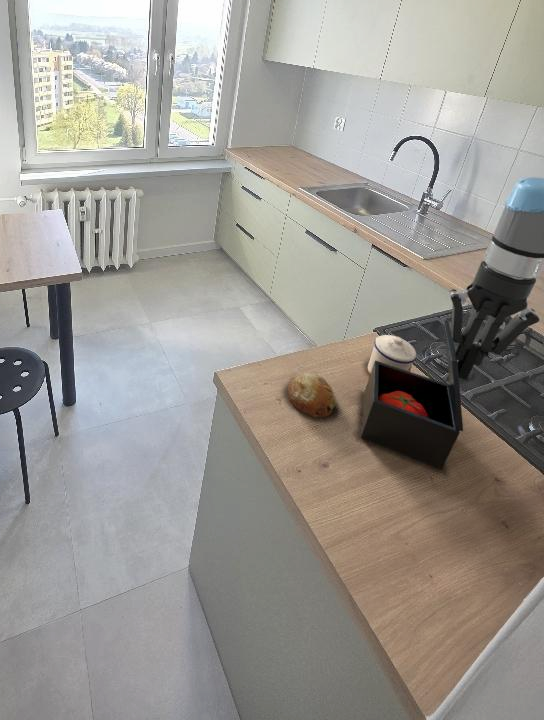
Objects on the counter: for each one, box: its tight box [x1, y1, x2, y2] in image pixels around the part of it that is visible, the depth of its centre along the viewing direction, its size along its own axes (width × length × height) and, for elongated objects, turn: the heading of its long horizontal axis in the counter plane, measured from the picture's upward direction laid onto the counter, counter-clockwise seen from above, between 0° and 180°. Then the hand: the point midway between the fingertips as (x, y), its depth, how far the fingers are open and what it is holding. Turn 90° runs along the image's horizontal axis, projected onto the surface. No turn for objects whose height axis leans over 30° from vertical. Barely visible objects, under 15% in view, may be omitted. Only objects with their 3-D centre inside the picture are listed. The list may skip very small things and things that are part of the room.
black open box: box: [360, 360, 461, 471], centre depth 87 cm, size 15×13×11 cm
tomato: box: [378, 391, 429, 418], centre depth 88 cm, size 9×10×8 cm
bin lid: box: [443, 319, 464, 432], centre depth 80 cm, size 16×13×1 cm
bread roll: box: [287, 372, 338, 418], centre depth 95 cm, size 10×10×8 cm
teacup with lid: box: [367, 334, 417, 374], centre depth 103 cm, size 12×9×12 cm
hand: (460, 373), depth 79 cm, fingers closed
